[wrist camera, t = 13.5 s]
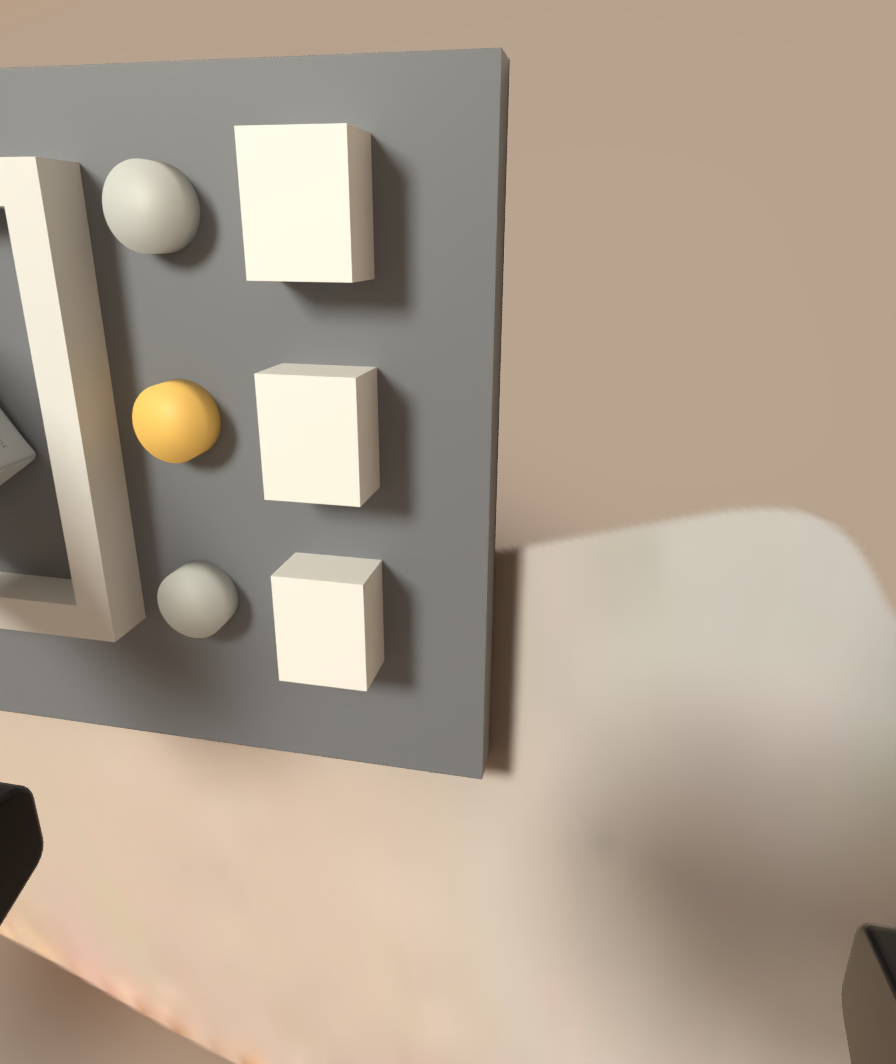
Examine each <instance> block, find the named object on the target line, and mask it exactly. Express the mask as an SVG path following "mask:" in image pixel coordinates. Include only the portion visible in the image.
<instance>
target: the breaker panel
mask: <svg viewBox="0 0 896 1064" xmlns="http://www.w3.org/2000/svg"><path fill="white" fill-rule="evenodd" d="M509 62H510V60H509V58H508V57H507V55H506V54H505V52H504V51H503V49H502V48H483V49H457V50H432V51H410V52H385V53H384V52H383V53H358V54H335V55H309V56H285V57H260V58H237V59H211V60H186V61H161V62H138V63H137V62H136V63H112V64H90V65H89V64H87V65H63V66H38V67H13V68H0V408H1V410H2V411H3V412H4V414H5V415H6V416H7V417H8V419H9V420H10V421H11V423H12V424H13V425H14V426H15V428H16V429H17V430H18V431H19V433H20V434H21V435H22V437H23V438H24V439H25V440H26V442H27V443H28V444H29V445H30V446H31V448H32V449H33V450H34V451H35V453H36V457H35V459H34V460H33V461H31V462H30V463H29V464H28V465H27V466H25V467H24V468H23V469H21V470H20V471H19V472H17V473H16V474H15V475H13V476H12V477H11V478H10V479H8V480H7V481H6V482H4V483H3V484H2V485H0V710H1V711H8V712H15V713H22V714H29V715H36V716H43V717H50V718H57V719H64V720H71V721H78V722H85V723H92V724H99V725H106V726H113V727H120V728H127V729H134V730H141V731H148V732H155V733H162V734H169V735H176V736H183V737H190V738H197V739H204V740H211V741H218V742H225V743H231V744H238V745H245V746H252V747H259V748H266V749H273V750H280V751H287V752H294V753H301V754H308V755H315V756H322V757H329V758H336V759H343V760H350V761H357V762H364V763H371V764H378V765H385V766H392V767H399V768H406V769H413V770H420V771H427V772H434V773H441V774H448V775H455V776H462V777H469V778H476V779H482V778H483V774H484V770H485V766H486V762H487V759H488V755H489V730H490V697H491V663H492V630H493V597H494V563H495V529H496V528H495V527H496V495H497V462H498V461H497V460H498V430H499V395H500V363H501V330H502V296H503V263H504V229H505V228H504V227H505V196H506V161H507V129H508V96H509V93H508V92H509Z"/></svg>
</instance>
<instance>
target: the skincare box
mask: <svg viewBox="0 0 896 1064" xmlns="http://www.w3.org/2000/svg"><path fill="white" fill-rule="evenodd" d="M35 457H36V453H35V451H34V450H33V449H32V448H31V446H30V445H29V444H28V443H27V442H26V440H25V439H24V438H23V437H22V435H21V434H20V433H19V431H18V430H17V429H16V428H15V426H14V425H13V424H12V423H11V421H10V420H9V419H8V417H7V416H6V415H5V414H4V412H3V411H2V410H1V408H0V485H2V484H3V483H4V482H6V481H7V480H8V479H10V478H11V477H12V476H13V475H15V474H16V473H17V472H19V471H20V470H21V469H23V468H24V467H25V466H27V465H28V464H29V463H30V462H31V461H33V460H34V459H35Z"/></svg>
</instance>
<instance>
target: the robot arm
mask: <svg viewBox="0 0 896 1064" xmlns="http://www.w3.org/2000/svg"><path fill="white" fill-rule="evenodd" d="M42 851H43V836H42V832H41V827H40V823H39V818H38V814H37V810H36V805H35V801H34V797H33V794H32V792H31V791H30V790H29V789H28V788H26V787H24V786H20V785H14V784H8V783H2V782H0V925H1V924H2V922H3V921H4V919H5V917H6V916H7V914H8V912H9V911H10V909H11V907H12V906H13V904H14V903H15V901H16V899H17V898H18V896H19V894H20V893H21V891H22V889H23V888H24V886H25V885H26V883H27V881H28V880H29V878H30V876H31V875H32V873H33V871H34V870H35V868H36V867H37V865H38V863H39V860H40V858H41V855H42ZM842 1009H843V1016H844V1022H845V1028H846V1034H847V1040H848V1046H849V1053H850V1059H851V1064H896V927H891V926H885V925H879V924H872V923H864V924H862V925H860V926H859V928H858V929H857V931H856V934H855V937H854V941H853V945H852V949H851V953H850V957H849V961H848V965H847V969H846V973H845V977H844V981H843V986H842Z"/></svg>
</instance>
